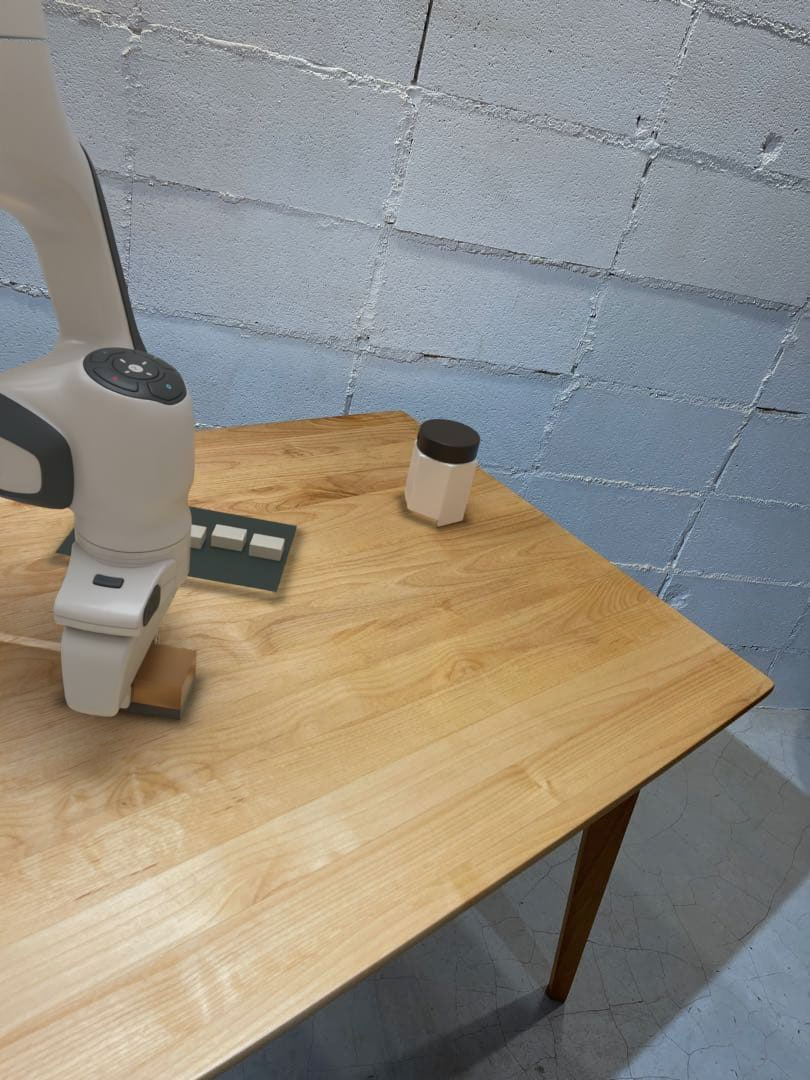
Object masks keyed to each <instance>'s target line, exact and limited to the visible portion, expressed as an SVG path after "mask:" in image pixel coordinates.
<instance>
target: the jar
mask: <svg viewBox="0 0 810 1080" xmlns="http://www.w3.org/2000/svg"><path fill="white" fill-rule="evenodd" d="M480 444H481V436H480V433H478V432H477V431H476V430H475V429H474V428H473V427H471V426H469V425H467V424H465V423H462V422H460V421H456V420H453V419H448V418H447V419H446V418H432V419H428V420H425V421H423V422H422V423H421V424H420V426H419V429H418V433H417V436H416V439H414V444H413V449H412V452H411V457H410V463H409V467H408V473H407V477H406V481H405V488H404V491H403V494H404V499H405V502H406V506H407V510H409V511H412V512H414V513H417V514H420V515H423V516H425V517H428V518H430V519H432V520H435V521H436V527H437V528H440V527H443V526H447V525H451V524H455V523H459V522H463V520H464V517H465V513H466V509H467V506H468V505H467V504H468V501H469V498H470V495H471V494H470V493H471V489H472V484H473V481H474V478H475V474H476V470H477V467H478V461H479V460H478V458H477V455H478V453H479V448H480Z"/></svg>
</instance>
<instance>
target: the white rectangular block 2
mask: <svg viewBox="0 0 810 1080" xmlns="http://www.w3.org/2000/svg"><path fill="white" fill-rule="evenodd" d="M246 537H247V530H246V529H240V528H235V527H229V526H224V525H218V524H217V525H216V527H215V529H214V531H213V533H212V536H211V546H213V547H219V548H224V549H230V550H235V551H241V552H242V550H243V547H244V545H245V542H246Z"/></svg>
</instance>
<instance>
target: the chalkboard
mask: <svg viewBox="0 0 810 1080" xmlns="http://www.w3.org/2000/svg"><path fill="white" fill-rule="evenodd" d="M189 508H190V512H191V518H192V525H197V526H202V527H206V539H205V541H204V543H203V545H202V547H201V549H196V548H190V566H189V573H188V576H187V578H188V577H189V578H193V579H194V578H195V579H201V580H206V581H212V582H217V583H222V584H228V585H234V586H240V587H246V588H251V589H257V590H263V591H268V592H273V593H278V589H279V587H280V583H281V580H282V576H283V573H284V570H285V566H286V563H287V560H288V557H289V554H290V550H291V548H292V544H293V541H294V537H295V534H296V531H297V528H298V526H297V525H295V524H288V523H285V522H278V521H272V520H268V519H267V520H266V519H263V518H262V519H261V518H256V517H251V516H246V515H240V514H233V513H228V512H223V511H218V510H212V509H208V508H201V507H195V506H190V505H189ZM217 524H218V525H224V526H229V527H235V528H240V529H246V530H247V537H246V542H245V545H244V547H243V550H242V552H241V551H235V550H230V549H224V548H219V547H213V546H211V536H212V533H213V531H214V529H215V527H216V525H217ZM254 533H255V534H260V535H266V536H271V537H277V538H282V539H285V541H284V549H283V553H282V556H281V559H280V561H277V560H271V559H265V558H260V557H254V556H249V548H250V543H251V540H252V538H253V535H254ZM74 542H75V526H74V527H73V528H72V529H71V531H70V532H69V533H68V534H67V536H66V537H65V539H64V540H63V541H62V542H61V544H60V545H59V547H58V548H57V549H56V550H55V551H54V552H55V554H59V555H65V556H70V557H71V551H72V545H73V543H74Z"/></svg>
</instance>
